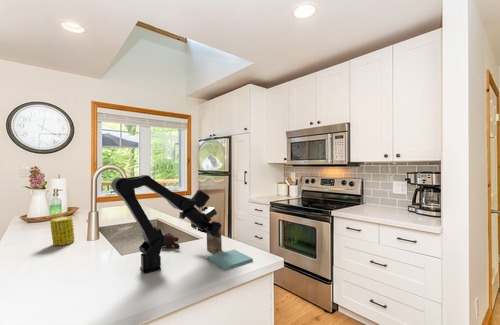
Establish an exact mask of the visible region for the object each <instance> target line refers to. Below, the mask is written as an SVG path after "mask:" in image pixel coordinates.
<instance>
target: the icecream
mask: <svg viewBox="0 0 500 325" xmlns="http://www.w3.org/2000/svg"><path fill="white" fill-rule="evenodd" d="M163 236H165V238H164V240H165V243H164V246H163V247H162V248H170V247H172V246H173V247H174V248H176V249H179V248H180V244H179V243H177V242H179V240H180V239H179V237H178V236H174V235H173V234H171V233H170V232H168V233H165V234H163ZM168 246H169V247H168Z"/></svg>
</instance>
